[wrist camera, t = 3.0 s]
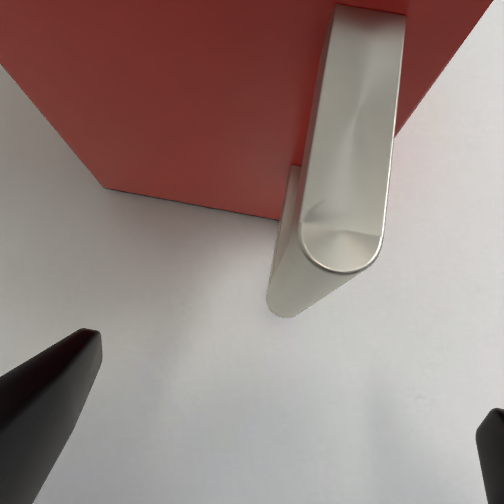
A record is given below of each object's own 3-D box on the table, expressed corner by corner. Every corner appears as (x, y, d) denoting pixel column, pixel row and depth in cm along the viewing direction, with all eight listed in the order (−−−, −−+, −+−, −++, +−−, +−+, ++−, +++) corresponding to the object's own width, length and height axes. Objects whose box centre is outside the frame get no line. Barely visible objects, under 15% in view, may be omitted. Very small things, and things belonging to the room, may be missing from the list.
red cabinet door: (314, 334, 18) (488, 291, 5) (72, 287, 19) (-313, 142, 6) (331, 215, 20) (500, -40, 7) (107, 173, 20) (-135, -149, 7)
